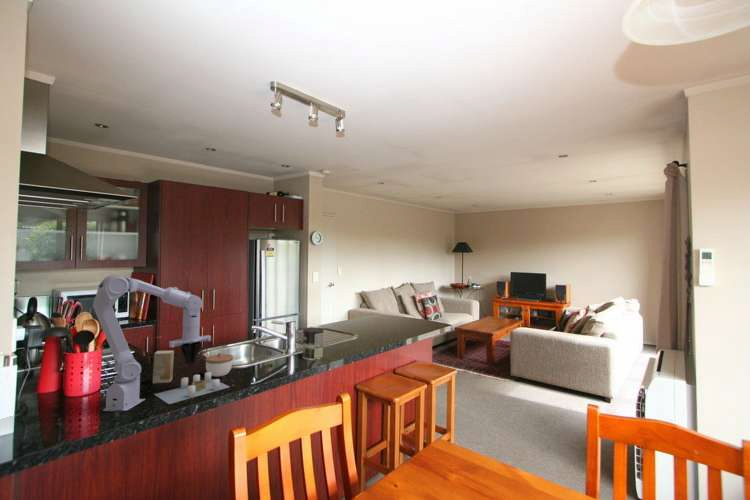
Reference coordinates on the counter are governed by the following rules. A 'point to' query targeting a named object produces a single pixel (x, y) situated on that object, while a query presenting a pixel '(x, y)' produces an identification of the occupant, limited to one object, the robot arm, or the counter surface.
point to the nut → (199, 385)
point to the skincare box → (163, 366)
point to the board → (184, 393)
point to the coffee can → (312, 343)
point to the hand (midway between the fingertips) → (190, 363)
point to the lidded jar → (219, 364)
